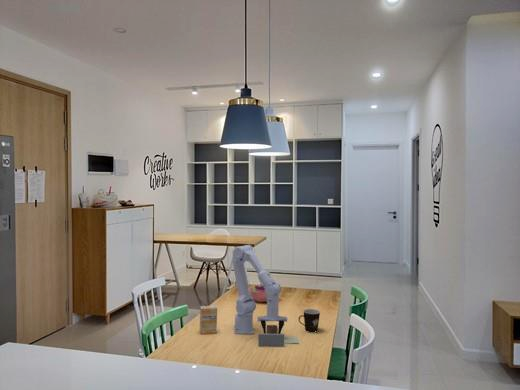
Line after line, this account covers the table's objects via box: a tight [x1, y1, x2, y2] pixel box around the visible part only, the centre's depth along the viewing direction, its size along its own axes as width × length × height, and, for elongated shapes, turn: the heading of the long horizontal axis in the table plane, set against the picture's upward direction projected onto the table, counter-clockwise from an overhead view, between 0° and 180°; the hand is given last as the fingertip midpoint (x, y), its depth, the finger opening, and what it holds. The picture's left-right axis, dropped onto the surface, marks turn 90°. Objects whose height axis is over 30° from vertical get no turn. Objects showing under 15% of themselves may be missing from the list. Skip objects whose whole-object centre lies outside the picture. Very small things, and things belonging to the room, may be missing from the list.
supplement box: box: [199, 305, 218, 335], centre depth 200 cm, size 8×5×13 cm, turn 105°
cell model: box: [248, 285, 267, 303], centre depth 260 cm, size 17×20×11 cm
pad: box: [284, 336, 300, 344], centre depth 191 cm, size 7×7×1 cm
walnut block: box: [266, 324, 279, 334], centre depth 194 cm, size 5×5×6 cm
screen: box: [257, 333, 285, 347], centre depth 185 cm, size 12×1×6 cm, turn 92°
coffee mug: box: [298, 308, 321, 333], centre depth 206 cm, size 12×9×10 cm
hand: (272, 335), depth 194 cm, fingers open, 6 cm apart
